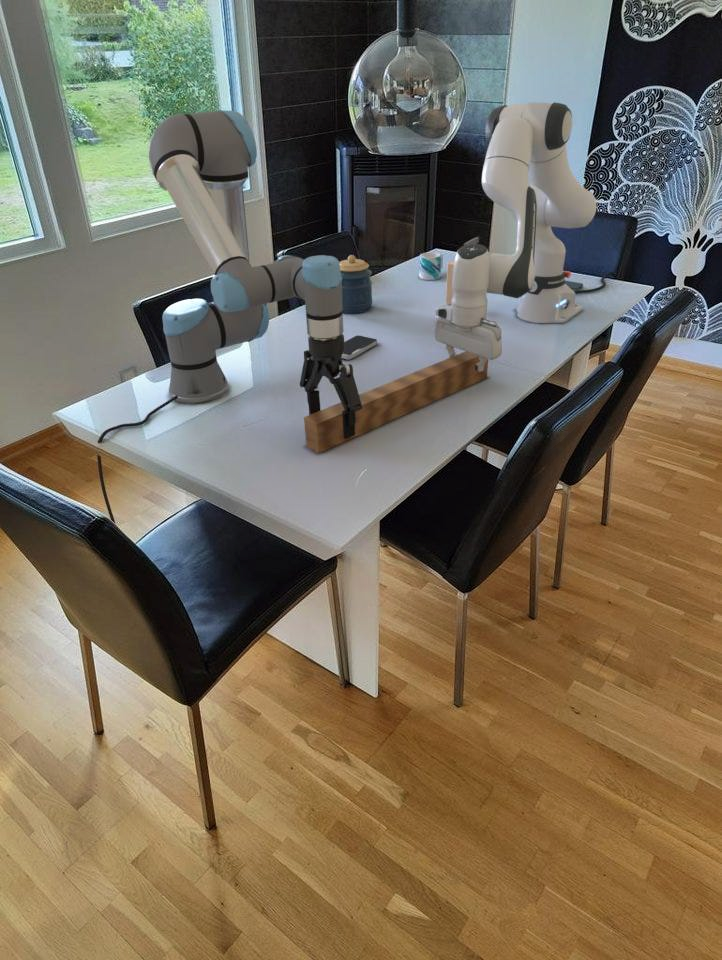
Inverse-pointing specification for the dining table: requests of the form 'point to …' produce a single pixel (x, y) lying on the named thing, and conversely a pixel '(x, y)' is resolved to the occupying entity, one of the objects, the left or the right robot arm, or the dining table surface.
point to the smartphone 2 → (574, 285)
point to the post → (394, 400)
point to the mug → (430, 265)
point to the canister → (355, 285)
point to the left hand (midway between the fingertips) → (331, 427)
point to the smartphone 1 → (357, 346)
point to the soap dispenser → (450, 274)
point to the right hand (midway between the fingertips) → (465, 365)
